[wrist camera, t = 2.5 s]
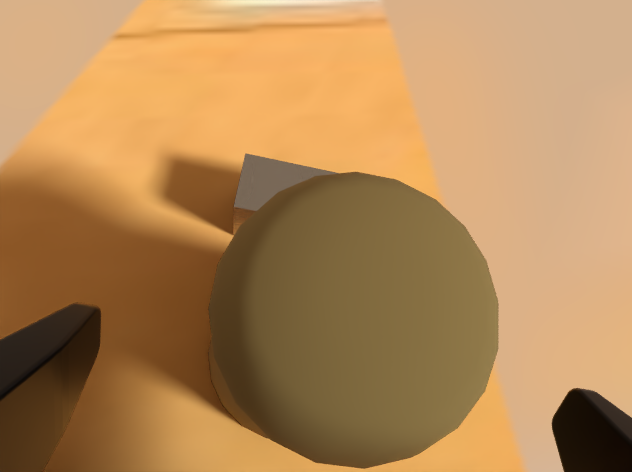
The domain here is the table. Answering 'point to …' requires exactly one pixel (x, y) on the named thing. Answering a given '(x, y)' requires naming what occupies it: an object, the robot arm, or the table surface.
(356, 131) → the table surface
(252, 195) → the bar
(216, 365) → the cork
